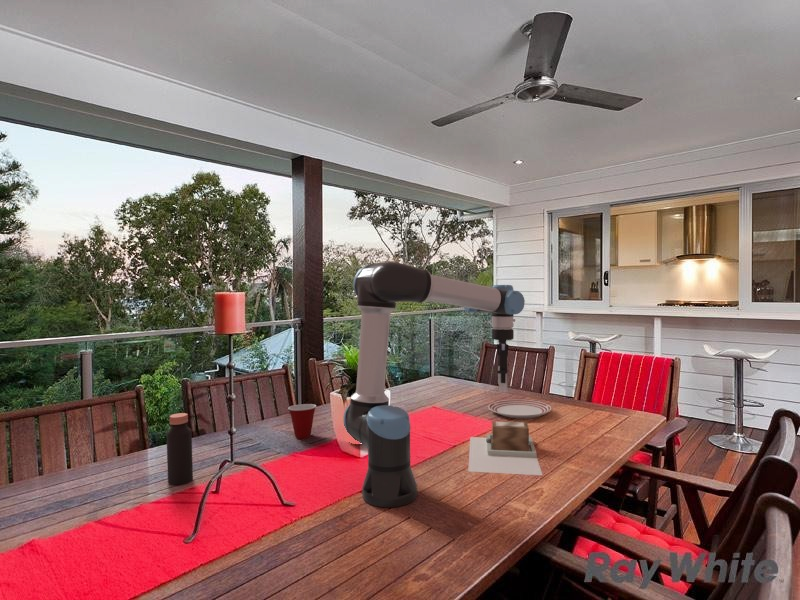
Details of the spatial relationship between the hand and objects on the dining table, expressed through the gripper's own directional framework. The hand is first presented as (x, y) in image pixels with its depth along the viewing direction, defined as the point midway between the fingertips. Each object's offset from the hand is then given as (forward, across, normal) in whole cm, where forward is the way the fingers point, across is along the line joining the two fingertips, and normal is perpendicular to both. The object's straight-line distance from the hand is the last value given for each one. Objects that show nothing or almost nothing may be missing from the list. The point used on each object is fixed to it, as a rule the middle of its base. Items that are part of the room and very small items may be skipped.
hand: (502, 388), depth 162 cm
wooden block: (+20, -2, -3) cm, 21 cm away
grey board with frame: (+21, -9, 0) cm, 23 cm away
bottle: (+23, -45, +96) cm, 108 cm away
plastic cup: (+22, 0, +75) cm, 79 cm away
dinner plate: (+21, +44, -9) cm, 50 cm away
